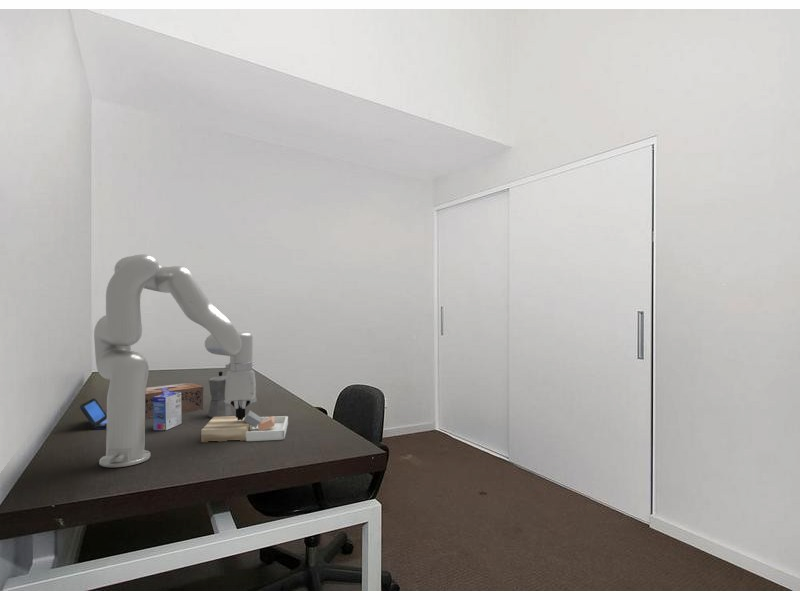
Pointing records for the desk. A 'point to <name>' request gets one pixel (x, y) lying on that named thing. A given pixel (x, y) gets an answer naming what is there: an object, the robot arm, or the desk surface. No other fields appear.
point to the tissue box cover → (189, 396)
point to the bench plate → (225, 429)
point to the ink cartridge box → (166, 410)
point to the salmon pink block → (266, 423)
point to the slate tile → (252, 419)
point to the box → (269, 430)
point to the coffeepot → (218, 397)
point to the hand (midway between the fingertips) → (240, 419)
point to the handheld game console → (94, 414)
